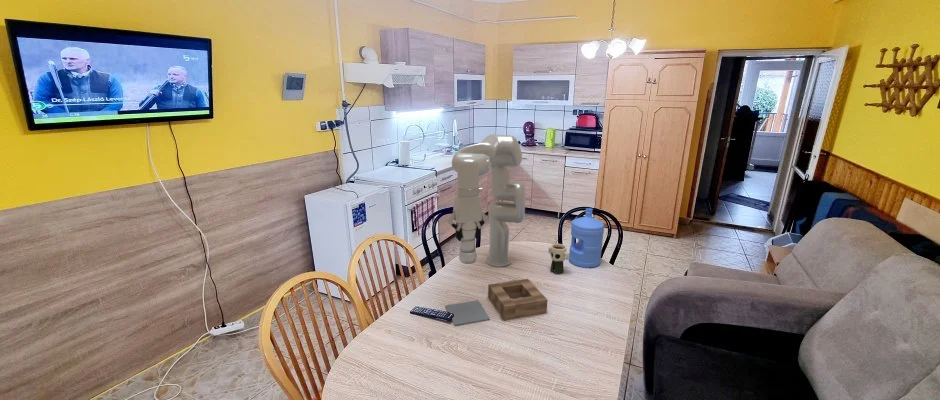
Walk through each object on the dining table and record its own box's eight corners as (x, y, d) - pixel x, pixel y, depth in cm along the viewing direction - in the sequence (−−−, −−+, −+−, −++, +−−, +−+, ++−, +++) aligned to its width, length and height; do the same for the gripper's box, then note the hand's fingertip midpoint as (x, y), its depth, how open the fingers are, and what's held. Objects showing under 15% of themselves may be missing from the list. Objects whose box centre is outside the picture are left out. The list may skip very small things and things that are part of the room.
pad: (445, 306, 161) (445, 305, 160) (478, 301, 165) (478, 300, 164) (454, 326, 148) (454, 324, 148) (489, 319, 152) (490, 318, 152)
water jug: (596, 255, 209) (602, 204, 201) (603, 269, 194) (609, 214, 186) (566, 254, 211) (570, 203, 203) (570, 267, 196) (575, 213, 188)
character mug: (543, 270, 193) (544, 245, 189) (551, 265, 198) (553, 241, 194) (562, 277, 185) (564, 252, 182) (570, 273, 190) (573, 247, 186)
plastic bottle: (474, 266, 147) (475, 215, 141) (456, 264, 148) (457, 213, 142) (478, 259, 153) (479, 209, 147) (460, 257, 154) (461, 208, 148)
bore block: (487, 297, 168) (488, 284, 166) (526, 291, 173) (527, 278, 172) (504, 320, 152) (504, 306, 150) (546, 313, 157) (547, 299, 155)
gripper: (487, 187, 148) (486, 232, 154) (441, 191, 143) (442, 237, 148) (494, 192, 142) (493, 239, 147) (447, 196, 136) (447, 245, 142)
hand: (467, 238), depth 148 cm, fingers closed on plastic bottle, 6 cm apart
